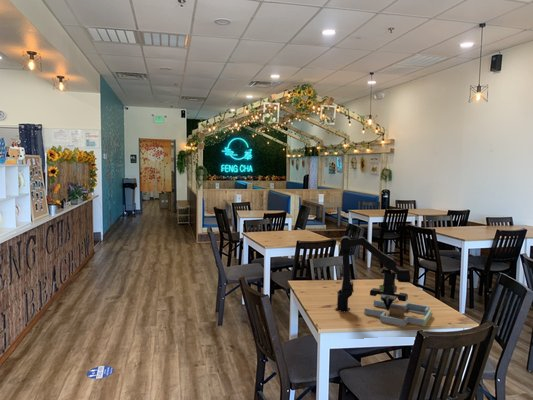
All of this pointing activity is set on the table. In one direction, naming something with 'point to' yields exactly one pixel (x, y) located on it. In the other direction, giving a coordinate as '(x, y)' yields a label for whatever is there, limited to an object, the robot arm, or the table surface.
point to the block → (396, 311)
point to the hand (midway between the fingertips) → (388, 310)
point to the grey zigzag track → (410, 306)
